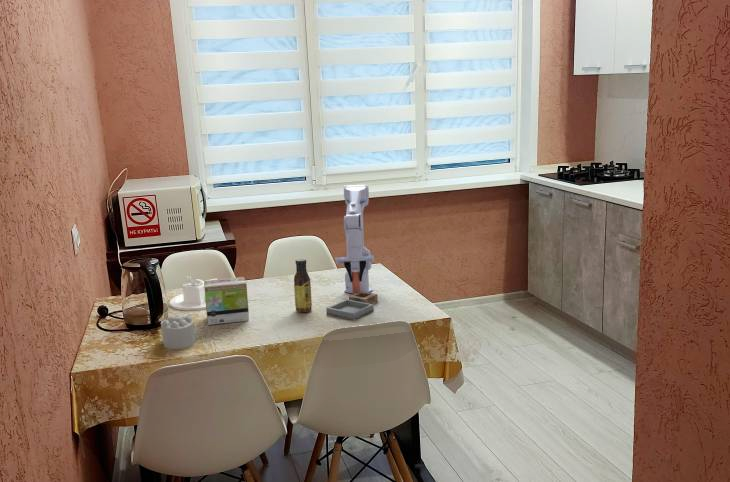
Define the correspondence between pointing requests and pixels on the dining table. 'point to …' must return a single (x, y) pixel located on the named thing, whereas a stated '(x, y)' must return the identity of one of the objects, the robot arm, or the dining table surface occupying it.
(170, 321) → the white bowl of pebbles
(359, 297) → the pin block
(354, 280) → the pin
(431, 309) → the dining table surface
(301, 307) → the sauce bottle
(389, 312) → the dining table surface
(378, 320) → the dining table surface
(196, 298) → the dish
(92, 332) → the dining table surface
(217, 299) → the tea box
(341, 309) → the tray
